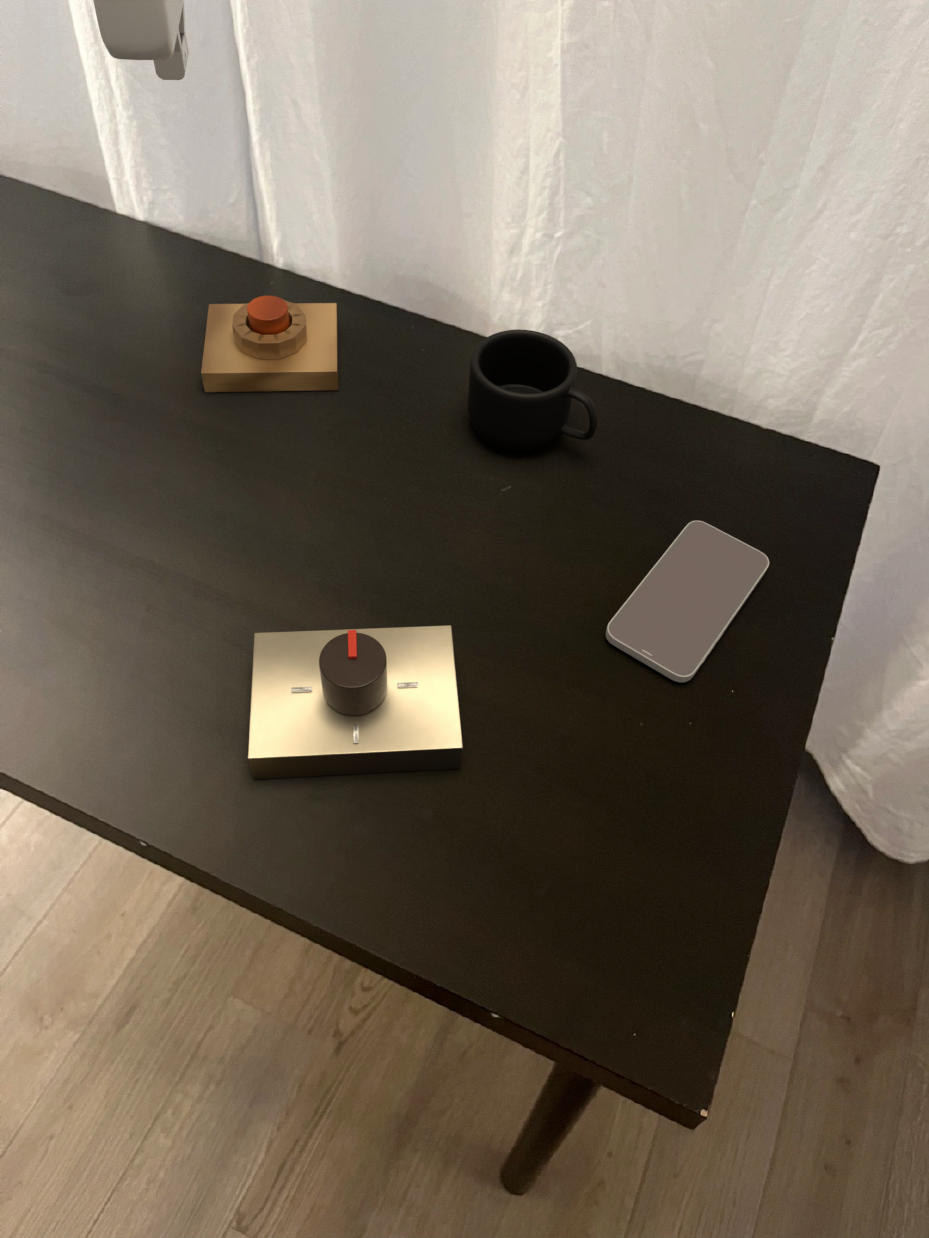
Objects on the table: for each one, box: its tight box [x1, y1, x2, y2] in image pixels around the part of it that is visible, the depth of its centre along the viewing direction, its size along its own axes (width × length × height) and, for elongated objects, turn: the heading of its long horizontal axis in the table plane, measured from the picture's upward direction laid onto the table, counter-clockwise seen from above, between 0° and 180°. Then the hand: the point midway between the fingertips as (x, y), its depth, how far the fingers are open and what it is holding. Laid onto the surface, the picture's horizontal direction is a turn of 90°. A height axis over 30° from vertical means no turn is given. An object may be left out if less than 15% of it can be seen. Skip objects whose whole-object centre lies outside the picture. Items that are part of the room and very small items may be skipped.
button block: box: [200, 299, 339, 393], centre depth 88 cm, size 12×10×4 cm
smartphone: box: [605, 520, 770, 683], centre depth 75 cm, size 7×1×15 cm
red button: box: [247, 295, 290, 335], centre depth 86 cm, size 4×4×2 cm
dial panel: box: [247, 624, 464, 780], centre depth 66 cm, size 14×10×3 cm
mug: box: [467, 329, 598, 451], centre depth 83 cm, size 12×9×7 cm
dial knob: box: [319, 630, 387, 715], centre depth 64 cm, size 4×4×4 cm
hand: (173, 69), depth 61 cm, fingers closed
